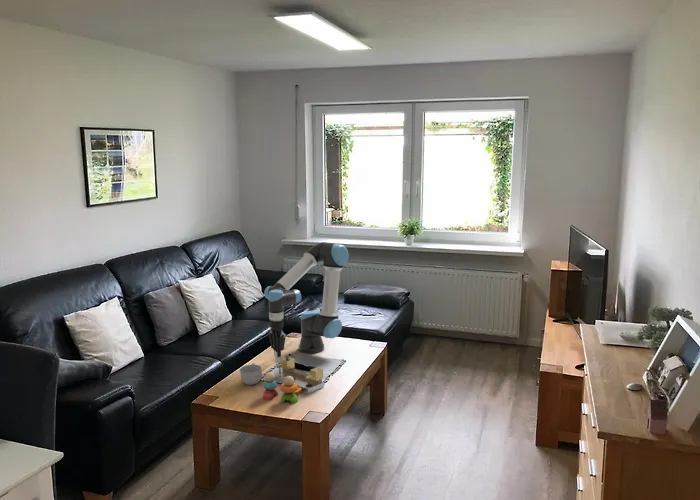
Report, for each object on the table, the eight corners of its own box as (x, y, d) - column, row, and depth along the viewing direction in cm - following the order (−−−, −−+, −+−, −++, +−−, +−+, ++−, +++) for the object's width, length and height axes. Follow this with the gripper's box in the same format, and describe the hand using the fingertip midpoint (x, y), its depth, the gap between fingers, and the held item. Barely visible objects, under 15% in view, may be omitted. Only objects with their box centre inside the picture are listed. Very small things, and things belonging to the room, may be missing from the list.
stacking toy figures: (306, 390, 280) (305, 366, 278) (294, 405, 263) (294, 380, 261) (271, 387, 284) (270, 363, 282) (258, 402, 267) (257, 377, 265)
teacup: (257, 387, 284) (256, 372, 282) (237, 386, 286) (236, 371, 284) (267, 377, 297) (266, 362, 296) (247, 375, 299) (246, 361, 298)
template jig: (287, 373, 301) (287, 356, 300) (324, 386, 284) (323, 369, 282) (271, 379, 293) (271, 362, 292) (308, 393, 276) (307, 375, 274)
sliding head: (288, 368, 301) (287, 353, 299) (294, 370, 297) (294, 355, 296) (274, 373, 293) (273, 358, 292) (280, 376, 290) (280, 360, 289)
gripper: (262, 318, 299) (264, 361, 303) (279, 323, 291) (280, 367, 295) (273, 315, 305) (275, 357, 309) (290, 320, 296) (291, 363, 300)
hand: (277, 362), depth 302 cm, fingers closed
